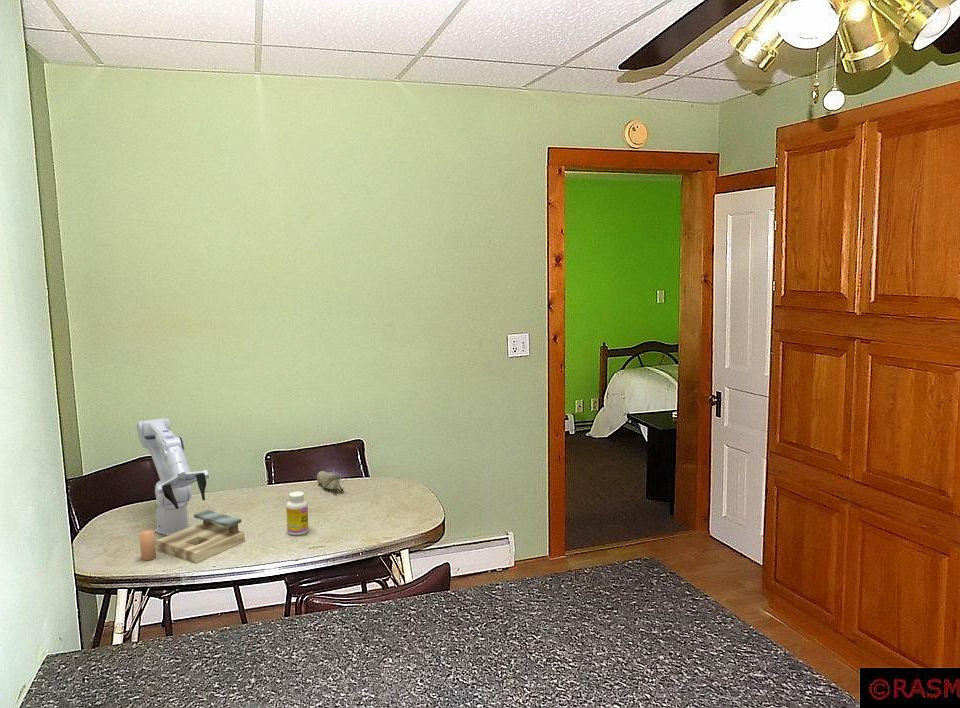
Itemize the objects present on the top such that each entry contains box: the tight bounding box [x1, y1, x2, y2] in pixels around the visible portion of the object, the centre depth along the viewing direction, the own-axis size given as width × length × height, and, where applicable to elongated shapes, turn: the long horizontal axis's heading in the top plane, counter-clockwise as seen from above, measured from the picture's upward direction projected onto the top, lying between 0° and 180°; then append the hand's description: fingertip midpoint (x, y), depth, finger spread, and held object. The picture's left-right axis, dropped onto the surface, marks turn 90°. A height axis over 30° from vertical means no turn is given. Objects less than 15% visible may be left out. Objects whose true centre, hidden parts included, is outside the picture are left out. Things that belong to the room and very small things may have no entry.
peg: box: [139, 529, 157, 562], centre depth 218 cm, size 4×4×8 cm
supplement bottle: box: [285, 490, 309, 536], centre depth 237 cm, size 7×7×13 cm
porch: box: [156, 509, 245, 564], centre depth 227 cm, size 18×18×7 cm
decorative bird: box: [316, 470, 345, 495], centre depth 277 cm, size 5×16×8 cm, turn 40°
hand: (190, 502), depth 219 cm, fingers open, 7 cm apart
